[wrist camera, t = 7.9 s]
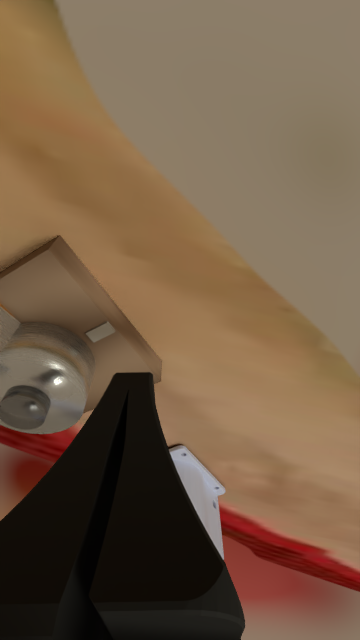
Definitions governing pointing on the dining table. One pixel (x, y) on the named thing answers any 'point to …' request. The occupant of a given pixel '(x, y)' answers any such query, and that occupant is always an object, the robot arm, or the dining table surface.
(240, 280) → the dining table surface
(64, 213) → the dining table surface
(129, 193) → the dining table surface
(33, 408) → the lever handle
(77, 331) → the walnut base
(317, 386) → the dining table surface
